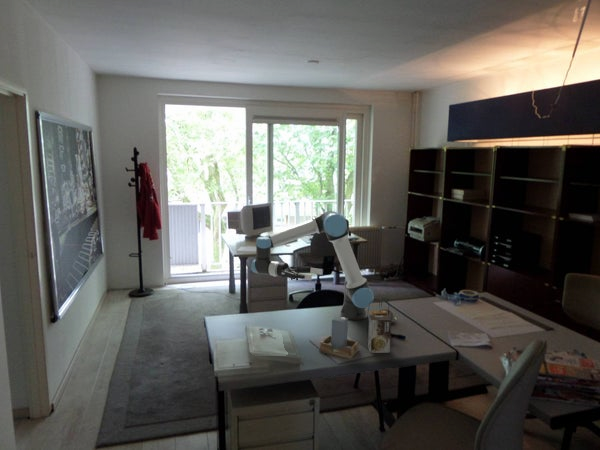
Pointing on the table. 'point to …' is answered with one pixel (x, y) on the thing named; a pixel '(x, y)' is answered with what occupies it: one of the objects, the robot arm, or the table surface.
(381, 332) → the coffee box
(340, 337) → the blue-grey rectangular block
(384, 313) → the multimeter
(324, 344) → the pocket tray
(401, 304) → the table surface
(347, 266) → the robot arm
